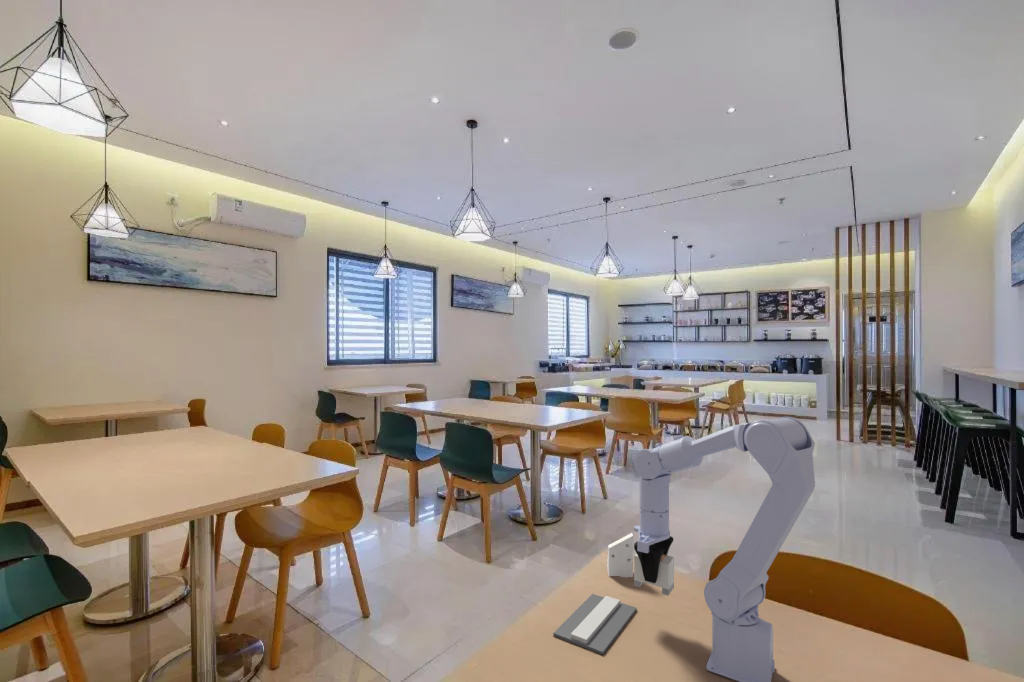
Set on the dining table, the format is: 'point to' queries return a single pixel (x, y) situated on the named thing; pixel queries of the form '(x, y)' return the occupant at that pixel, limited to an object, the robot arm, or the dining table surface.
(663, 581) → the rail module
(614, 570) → the white angled block
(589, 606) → the din rail
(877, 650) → the dining table surface
